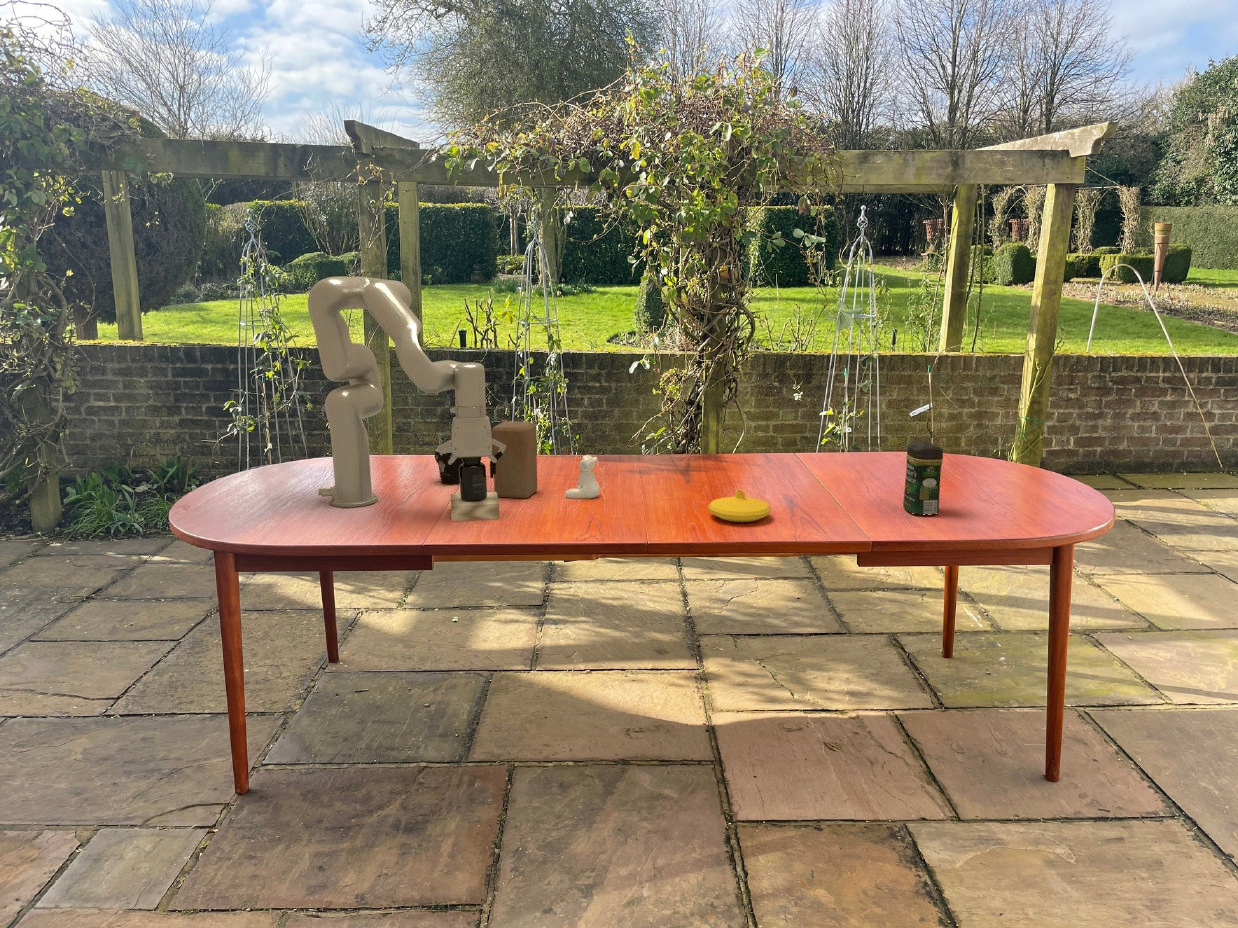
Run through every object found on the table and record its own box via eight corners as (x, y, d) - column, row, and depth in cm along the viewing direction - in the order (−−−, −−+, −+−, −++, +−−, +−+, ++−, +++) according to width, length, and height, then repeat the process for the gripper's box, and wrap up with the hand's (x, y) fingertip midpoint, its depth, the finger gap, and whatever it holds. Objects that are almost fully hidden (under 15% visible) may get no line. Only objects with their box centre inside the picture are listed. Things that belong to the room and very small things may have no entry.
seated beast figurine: (582, 490, 246) (582, 449, 243) (608, 494, 241) (607, 452, 239) (563, 497, 238) (563, 455, 235) (589, 502, 234) (589, 459, 231)
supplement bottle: (488, 495, 225) (486, 450, 222) (485, 501, 218) (483, 455, 216) (462, 495, 225) (460, 450, 222) (458, 502, 218) (456, 456, 215)
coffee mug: (469, 484, 253) (468, 451, 251) (440, 487, 250) (438, 453, 248) (461, 475, 264) (460, 443, 261) (433, 478, 261) (431, 446, 258)
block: (527, 499, 236) (526, 428, 232) (493, 497, 238) (491, 426, 234) (538, 490, 246) (536, 421, 241) (505, 488, 248) (503, 420, 243)
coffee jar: (898, 507, 228) (903, 438, 224) (928, 506, 228) (933, 438, 224) (911, 517, 219) (917, 446, 214) (942, 517, 219) (948, 445, 215)
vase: (722, 529, 209) (723, 501, 207) (698, 512, 224) (699, 486, 222) (781, 524, 213) (782, 496, 212) (754, 507, 228) (755, 482, 226)
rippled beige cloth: (451, 521, 216) (450, 505, 215) (451, 508, 227) (450, 494, 226) (499, 518, 218) (499, 503, 217) (497, 506, 229) (496, 491, 228)
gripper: (435, 415, 211) (438, 482, 215) (506, 413, 215) (507, 479, 218) (436, 410, 219) (438, 475, 222) (504, 408, 222) (505, 473, 226)
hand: (473, 477), depth 220 cm, fingers open, 9 cm apart
